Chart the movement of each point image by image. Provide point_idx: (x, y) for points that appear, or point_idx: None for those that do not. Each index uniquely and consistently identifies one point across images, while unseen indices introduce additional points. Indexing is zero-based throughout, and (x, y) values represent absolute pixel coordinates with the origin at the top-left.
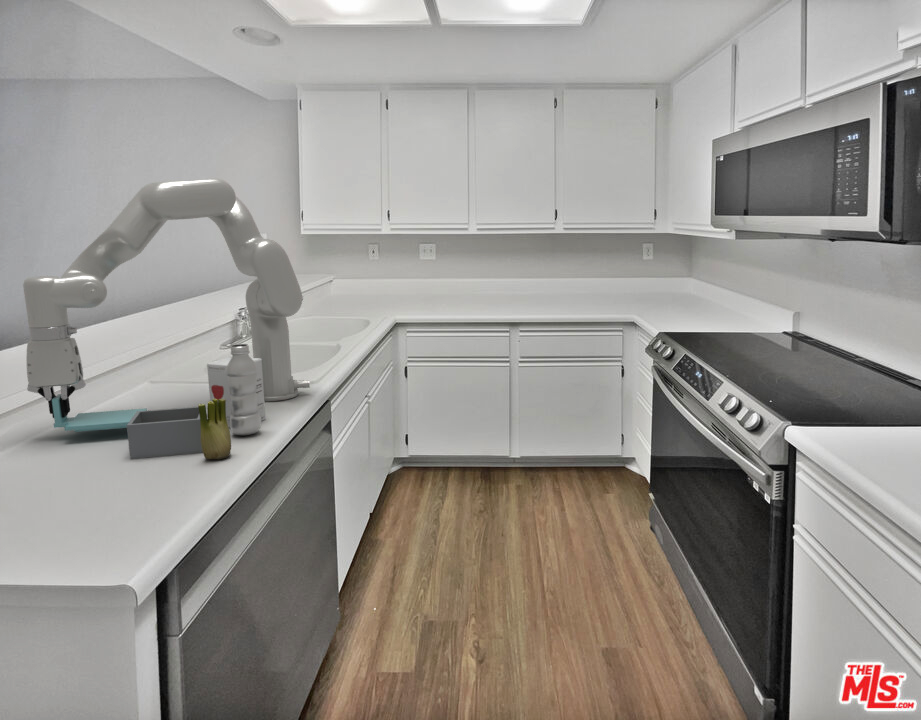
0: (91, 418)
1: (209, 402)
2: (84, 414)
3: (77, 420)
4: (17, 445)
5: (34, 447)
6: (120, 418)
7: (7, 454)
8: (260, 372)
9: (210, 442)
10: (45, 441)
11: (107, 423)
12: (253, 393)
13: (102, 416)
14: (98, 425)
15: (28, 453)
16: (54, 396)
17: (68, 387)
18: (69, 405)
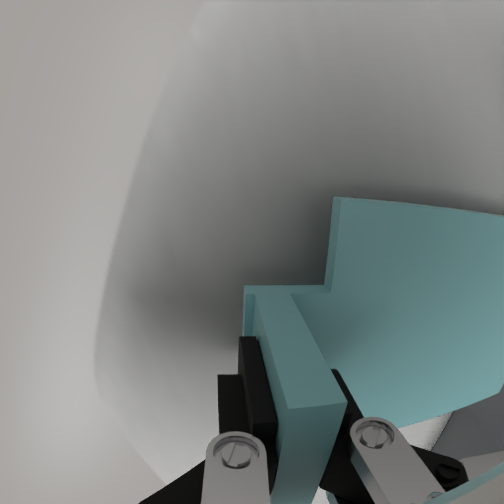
0: (407, 342)
1: None
2: (377, 244)
3: (349, 365)
4: (101, 358)
5: (178, 400)
6: (482, 359)
7: (123, 433)
8: None
9: None
10: (191, 343)
11: (439, 413)
12: None
13: (447, 316)
14: (412, 421)
15: (185, 444)
16: (272, 483)
17: (414, 489)
18: (346, 388)
